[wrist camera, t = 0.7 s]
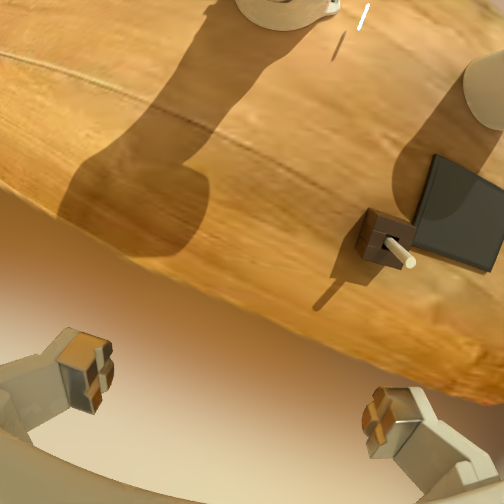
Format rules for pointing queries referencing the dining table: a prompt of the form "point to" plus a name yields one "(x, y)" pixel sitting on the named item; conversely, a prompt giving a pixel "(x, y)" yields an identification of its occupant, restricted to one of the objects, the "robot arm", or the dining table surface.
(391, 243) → the stylus
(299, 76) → the dining table surface
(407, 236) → the pen stand
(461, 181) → the tablet
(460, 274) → the dining table surface
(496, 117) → the utensil holder
